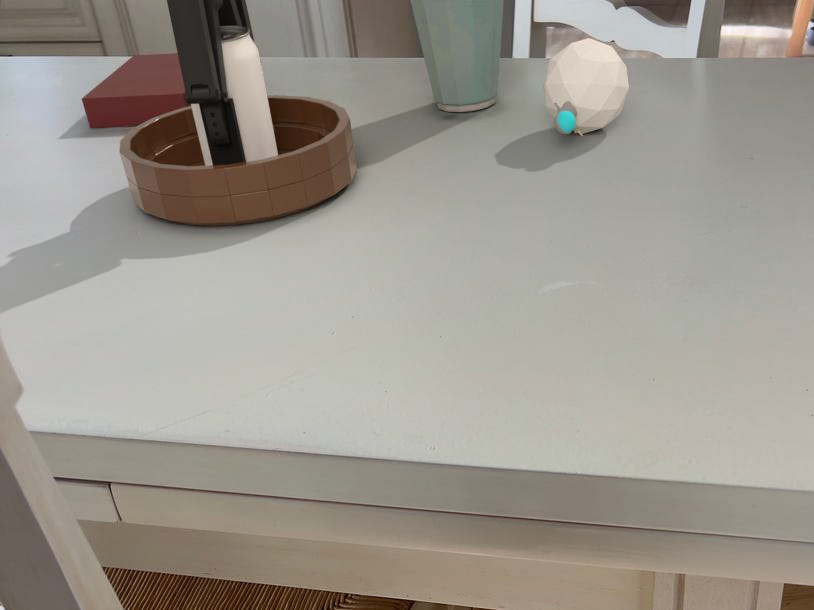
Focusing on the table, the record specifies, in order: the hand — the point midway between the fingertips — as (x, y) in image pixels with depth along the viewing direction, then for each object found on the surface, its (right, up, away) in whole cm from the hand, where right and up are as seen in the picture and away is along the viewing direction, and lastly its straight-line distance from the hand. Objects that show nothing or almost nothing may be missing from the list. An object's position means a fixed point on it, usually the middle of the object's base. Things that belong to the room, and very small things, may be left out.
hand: (242, 164), depth 90 cm
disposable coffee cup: (+19, +13, +17) cm, 29 cm away
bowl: (0, -2, +1) cm, 2 cm away
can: (0, -1, +1) cm, 2 cm away
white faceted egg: (+31, +5, +6) cm, 32 cm away
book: (-14, +16, +24) cm, 32 cm away
